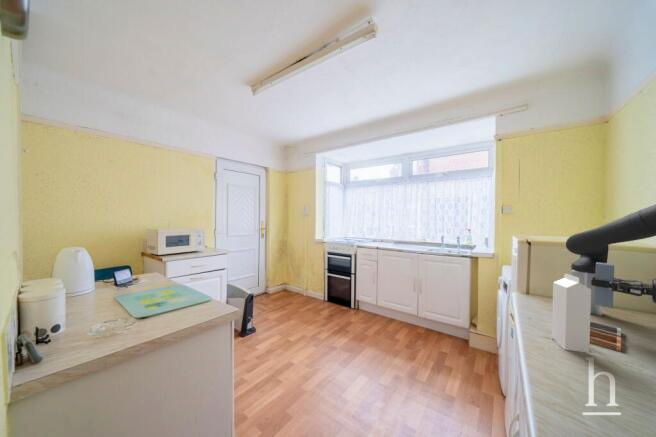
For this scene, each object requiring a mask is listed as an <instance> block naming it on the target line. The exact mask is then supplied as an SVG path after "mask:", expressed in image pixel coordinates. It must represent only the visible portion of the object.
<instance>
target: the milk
mask: <svg viewBox="0 0 656 437" xmlns="http://www.w3.org/2000/svg"><path fill="white" fill-rule="evenodd" d="M590 311H591V289H589V288H588V287H586V286H584V285H582V284H580V283H579V278H578V277H575V276H572V275H571V274H569V273H564V274H563V278H561V279H558V280H555V281H553V286H552V317H551V320H552V321H551V341H553V342H554V343H556V345H558V346H559V347H561V348H562V349H563V350H564V351H573V352H580V353H590V343H589V342H590V321H591V313H590Z"/></svg>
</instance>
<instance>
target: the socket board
mask: <svg viewBox="0 0 656 437" xmlns="http://www.w3.org/2000/svg"><path fill="white" fill-rule="evenodd" d="M589 344H592V345H594V346H595V345H596V346H598V347H601V348H604V349H605V348H606V349H609V350H612V351H616V352H619V353H622V354H625V350H626V349H625V333H624V332H622V329H621V328H620V327H616V326H612V325H607V324H604V323H599V322H596V321H591V320H590V342H589Z"/></svg>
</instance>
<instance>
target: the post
mask: <svg viewBox="0 0 656 437" xmlns="http://www.w3.org/2000/svg"><path fill="white" fill-rule="evenodd" d="M614 278H615V264H614V263H608V262H607V263H599V262H596V271H595V279H596V280H603V281H608V283H609V281H613V282H614ZM594 304H595V305H600V306H602V307H607V308H612V309H613V308H614V291H612V290H610V289H608V288H604V287H597V286H595V302H594Z"/></svg>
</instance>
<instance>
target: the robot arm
mask: <svg viewBox="0 0 656 437" xmlns="http://www.w3.org/2000/svg"><path fill="white" fill-rule="evenodd" d="M653 237H656V204H654V205H653V204H652V205H650V206H648V207H644V208H643V209H639V210H636V211H635V212H633V213H630V214H627V215H625V216H623V217H619V218H618V219H615V220H612V221H610V222H608V223H605V224H602V225H600V226H598V227H595V228H593V229H588V230H584V231H582V232H577V233H574V234H572V235H570V236H569V237H568V238H567V239H566V242H565V247H566V249H567V251H568V252H570V253H571V254H573V255H578V256H579V258H578V259H577V260H576V261H573V262H572V263H571V266H570V269H571V270H570V275H572V276H575V277H578V278H579V283H580V284H582V285H584V286H586V287H588V288H589V289H591V311H590V315H591V314H592V315H594V316H600V317H601V316H603V306H600V305H595V304H594V302H595V286H597V287H604V288H608V289H610V290H612V291H613V292H616V293H622V294H626V295H631V296H636V297H642V296H644V295H645V296H651V300H652V303H654V304H656V278H653V279H652V281H651V284H649V283H643V281H642V280H641V281H640V280H637V279H635V280H632V279H623V278H616V277H614V282H613V281H609V283H608V281H603V280H596V279H595V271H596V262H599V263H608V259H609V258H608V257H609V246H610V245H613V244H621V243H625V242H633V241H638V240H639V241H640V240H644V239H649V238H653Z"/></svg>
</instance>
